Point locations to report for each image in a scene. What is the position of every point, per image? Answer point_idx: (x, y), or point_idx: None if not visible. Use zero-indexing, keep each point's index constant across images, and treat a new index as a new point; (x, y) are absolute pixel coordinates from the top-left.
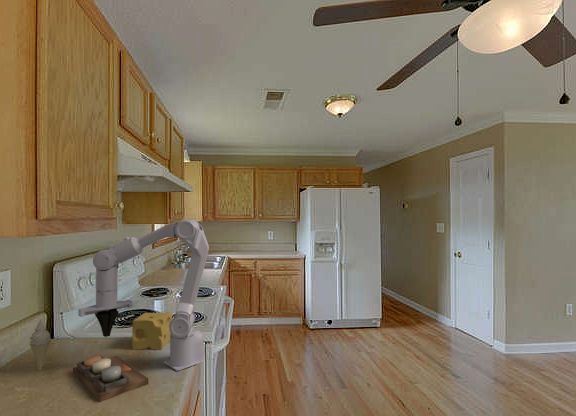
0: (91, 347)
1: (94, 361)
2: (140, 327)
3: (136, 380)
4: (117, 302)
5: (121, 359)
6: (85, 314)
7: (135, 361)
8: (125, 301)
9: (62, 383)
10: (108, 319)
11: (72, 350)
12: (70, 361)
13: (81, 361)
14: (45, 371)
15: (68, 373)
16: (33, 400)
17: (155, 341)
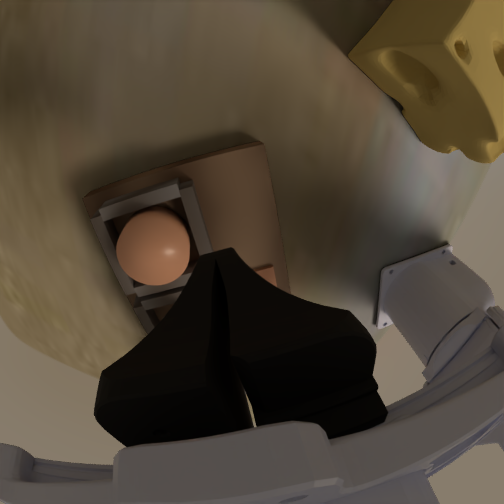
0: None
1: None
2: (441, 79)
3: None
4: (476, 413)
5: (275, 205)
6: (56, 473)
7: (322, 196)
8: (501, 420)
9: (74, 262)
10: (251, 420)
11: None
12: (79, 53)
13: (106, 210)
14: (8, 129)
15: (76, 185)
16: (41, 323)
17: (432, 132)
